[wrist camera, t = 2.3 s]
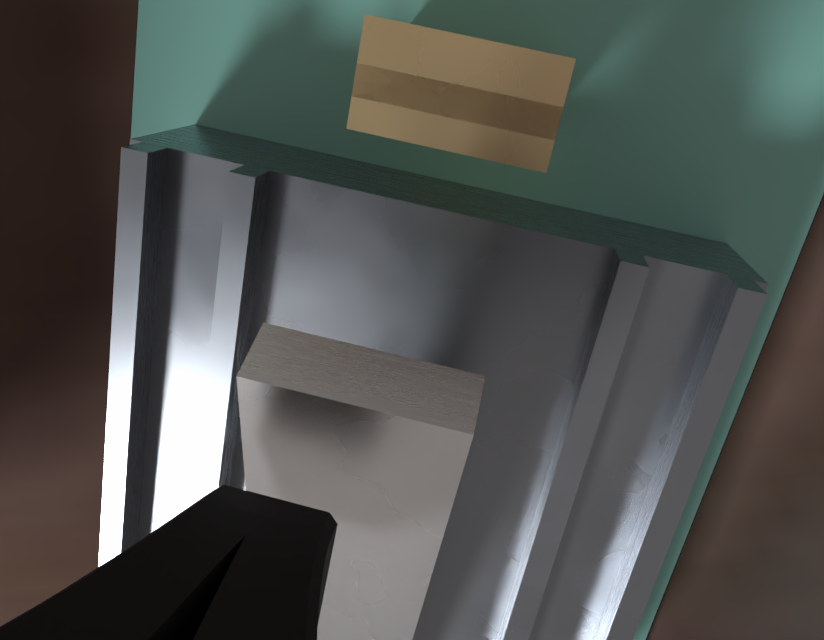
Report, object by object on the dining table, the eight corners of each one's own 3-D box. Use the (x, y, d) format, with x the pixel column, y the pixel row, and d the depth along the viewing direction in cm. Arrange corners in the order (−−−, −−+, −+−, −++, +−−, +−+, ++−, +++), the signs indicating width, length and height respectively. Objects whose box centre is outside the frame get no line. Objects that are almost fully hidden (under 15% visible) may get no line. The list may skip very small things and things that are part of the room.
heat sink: (153, 598, 22) (59, 735, 18) (208, -19, 16) (86, -45, 12) (559, 707, 21) (567, 880, 17) (778, 100, 15) (880, 122, 11)
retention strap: (376, 747, 18) (369, 783, 18) (279, 720, 19) (268, 755, 18) (485, 375, 8) (474, 434, 8) (263, 321, 8) (235, 375, 8)
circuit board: (107, 690, 24) (97, 705, 24) (162, -160, 16) (148, -168, 15) (565, 818, 23) (566, 837, 23) (893, -15, 15) (907, -19, 14)
